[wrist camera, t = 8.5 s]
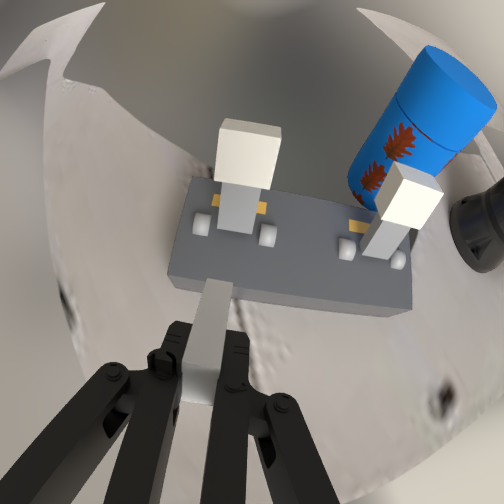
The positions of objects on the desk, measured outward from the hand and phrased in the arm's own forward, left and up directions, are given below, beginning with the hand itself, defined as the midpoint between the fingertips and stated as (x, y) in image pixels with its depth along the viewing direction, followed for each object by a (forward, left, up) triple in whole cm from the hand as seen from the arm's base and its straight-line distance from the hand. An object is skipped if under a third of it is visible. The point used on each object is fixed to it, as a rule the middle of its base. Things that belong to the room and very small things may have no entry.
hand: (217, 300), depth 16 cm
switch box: (-8, -10, -17) cm, 21 cm away
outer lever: (0, -10, -11) cm, 15 cm away
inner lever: (-16, -10, -11) cm, 22 cm away
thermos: (-21, -25, -17) cm, 37 cm away
